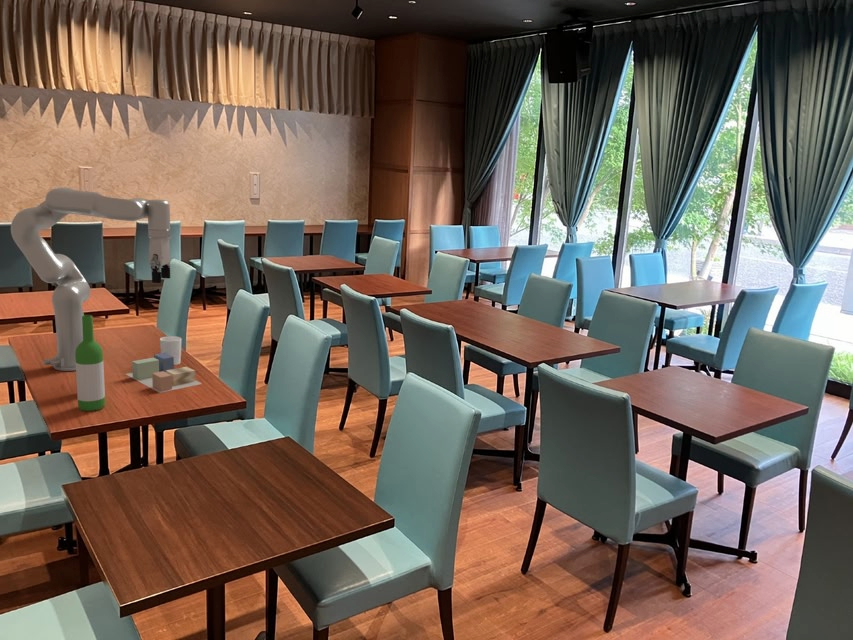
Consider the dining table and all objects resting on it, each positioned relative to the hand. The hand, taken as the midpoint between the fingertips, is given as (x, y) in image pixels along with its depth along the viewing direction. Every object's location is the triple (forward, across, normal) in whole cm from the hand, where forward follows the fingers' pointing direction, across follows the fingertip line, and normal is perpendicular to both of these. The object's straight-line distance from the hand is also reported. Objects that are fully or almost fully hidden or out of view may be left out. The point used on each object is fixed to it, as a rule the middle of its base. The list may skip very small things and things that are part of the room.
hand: (161, 280), depth 253 cm
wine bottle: (+34, +45, -8) cm, 57 cm away
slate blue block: (+34, +5, +1) cm, 34 cm away
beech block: (+34, +15, +11) cm, 39 cm away
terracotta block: (+34, +24, +7) cm, 42 cm away
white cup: (+34, -6, +1) cm, 34 cm away
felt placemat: (+34, +14, +4) cm, 37 cm away
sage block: (+34, +12, -3) cm, 36 cm away
